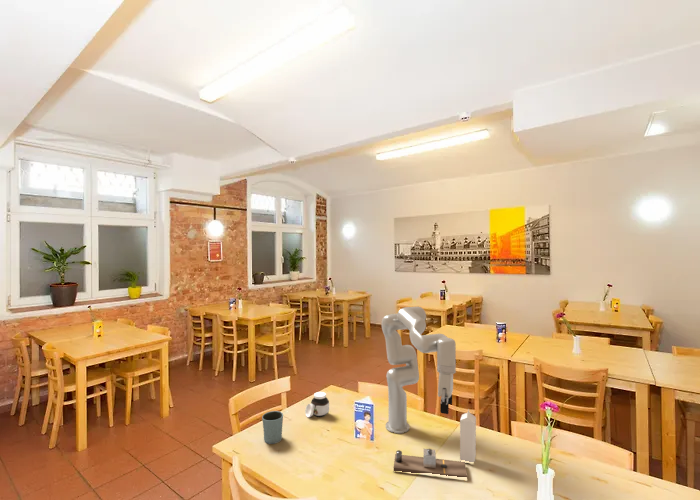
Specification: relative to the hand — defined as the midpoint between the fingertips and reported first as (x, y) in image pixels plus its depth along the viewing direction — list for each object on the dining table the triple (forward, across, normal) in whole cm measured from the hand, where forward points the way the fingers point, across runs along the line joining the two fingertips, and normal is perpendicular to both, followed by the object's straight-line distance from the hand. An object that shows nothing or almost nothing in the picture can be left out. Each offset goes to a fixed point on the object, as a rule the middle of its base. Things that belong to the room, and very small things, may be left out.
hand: (446, 408), depth 151 cm
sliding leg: (+25, 0, -7) cm, 26 cm away
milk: (+28, -13, +7) cm, 31 cm away
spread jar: (+28, -23, -76) cm, 84 cm away
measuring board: (+27, 0, -7) cm, 28 cm away
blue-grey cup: (+28, +8, -83) cm, 88 cm away
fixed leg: (+25, +3, -20) cm, 32 cm away
